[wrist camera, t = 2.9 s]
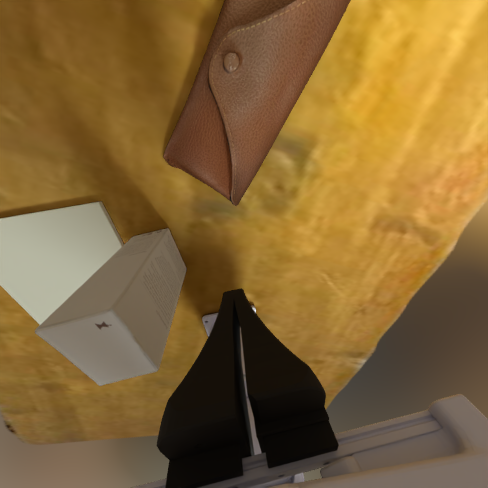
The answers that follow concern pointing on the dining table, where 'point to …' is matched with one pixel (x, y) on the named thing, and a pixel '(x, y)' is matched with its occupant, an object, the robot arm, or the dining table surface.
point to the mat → (54, 254)
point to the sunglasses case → (249, 87)
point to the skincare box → (121, 311)
